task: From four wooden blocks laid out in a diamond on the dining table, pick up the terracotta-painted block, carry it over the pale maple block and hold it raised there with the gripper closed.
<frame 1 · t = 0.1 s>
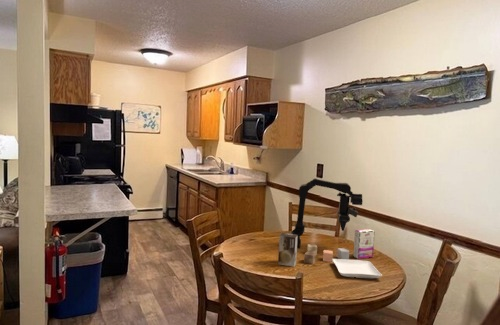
hand: (342, 228, 214), 15 cm above the table, fingers open, 9 cm apart
walnut block: (309, 262, 194), on the table
maple block: (311, 253, 208), on the table
salad plate: (355, 272, 184), on the table
light gray block: (342, 258, 204), on the table
coffee box: (286, 264, 189), on the table
candy bar box: (362, 257, 208), on the table
terracotta block: (327, 260, 199), on the table
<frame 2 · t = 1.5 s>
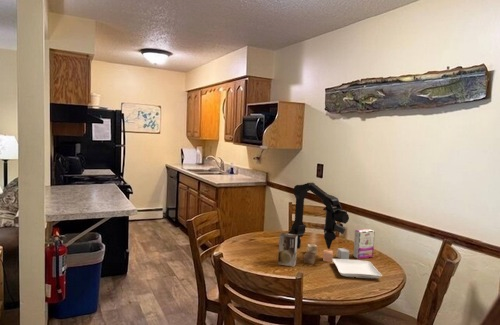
hand: (328, 246, 198), 8 cm above the table, fingers open, 9 cm apart
nothing on the table moved.
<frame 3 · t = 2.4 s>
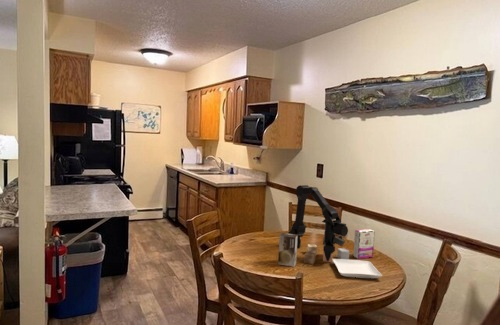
hand: (327, 258, 199), 1 cm above the table, fingers open, 9 cm apart
nothing on the table moved.
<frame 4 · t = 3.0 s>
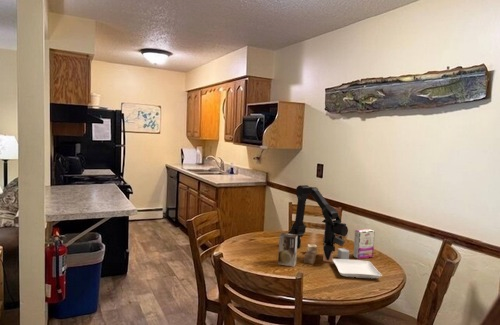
hand: (327, 258, 199), 1 cm above the table, fingers closed on terracotta block, 5 cm apart
terracotta block: (327, 260, 199), on the table, touching gripper
everything else where it was.
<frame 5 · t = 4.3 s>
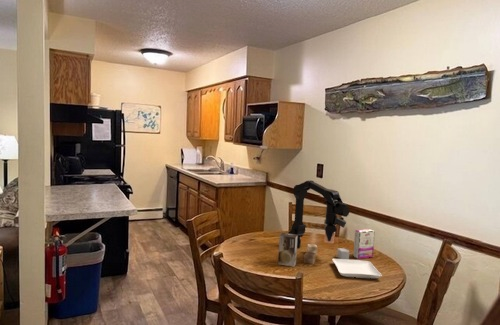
hand: (329, 239, 198), 12 cm above the table, fingers closed on terracotta block, 5 cm apart
terracotta block: (329, 241, 198), point 11 cm above the table, touching gripper
everything else where it was.
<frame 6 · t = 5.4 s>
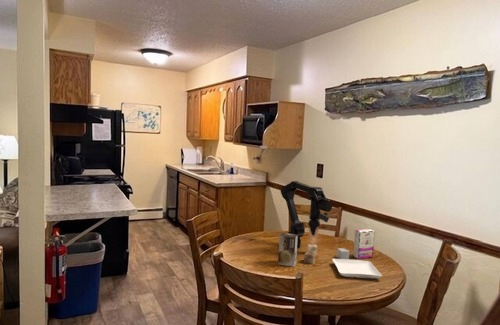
hand: (313, 234, 208), 12 cm above the table, fingers closed on terracotta block, 5 cm apart
terracotta block: (313, 235, 208), point 11 cm above the table, touching gripper
everything else where it was.
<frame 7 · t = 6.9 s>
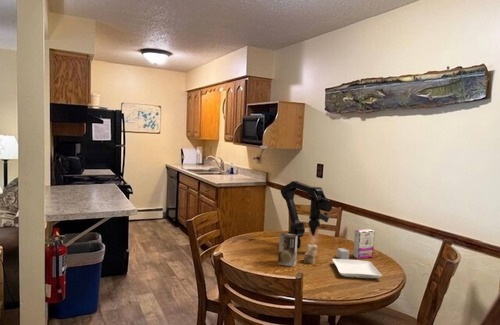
hand: (313, 234, 208), 12 cm above the table, fingers closed on terracotta block, 5 cm apart
terracotta block: (313, 235, 208), point 11 cm above the table, touching gripper
everything else where it was.
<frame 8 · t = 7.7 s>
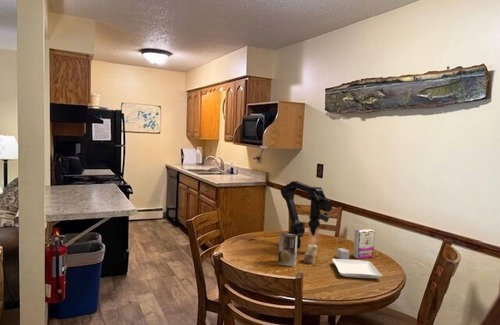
hand: (313, 234, 208), 12 cm above the table, fingers closed on terracotta block, 5 cm apart
terracotta block: (313, 235, 208), point 11 cm above the table, touching gripper
everything else where it was.
at the end: the gripper is holding terracotta block; terracotta block point 11.0 cm above the table; terracotta block inside the target area on the maple block (0.0 cm from its centre), point 11.1 cm above the maple block's base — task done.
